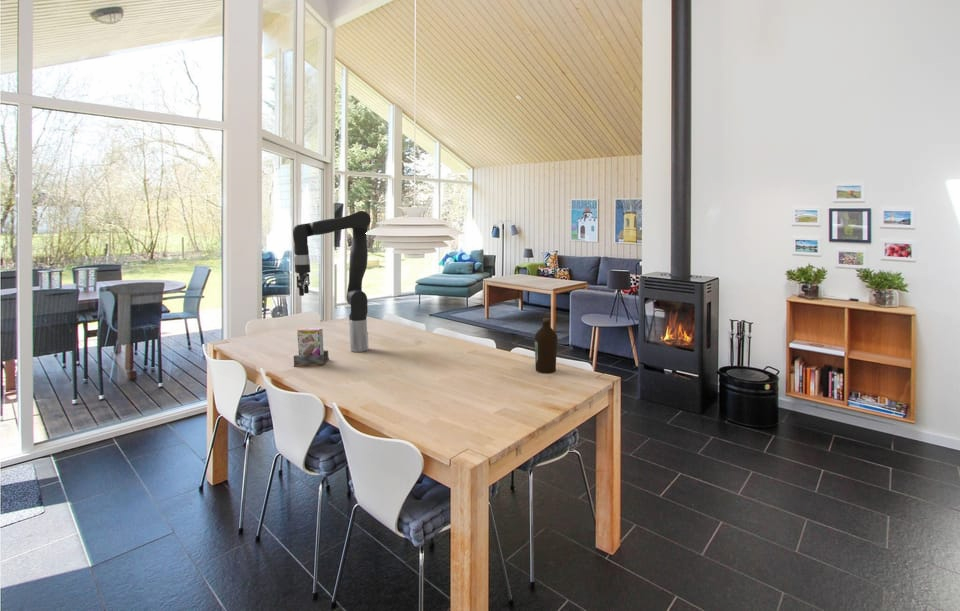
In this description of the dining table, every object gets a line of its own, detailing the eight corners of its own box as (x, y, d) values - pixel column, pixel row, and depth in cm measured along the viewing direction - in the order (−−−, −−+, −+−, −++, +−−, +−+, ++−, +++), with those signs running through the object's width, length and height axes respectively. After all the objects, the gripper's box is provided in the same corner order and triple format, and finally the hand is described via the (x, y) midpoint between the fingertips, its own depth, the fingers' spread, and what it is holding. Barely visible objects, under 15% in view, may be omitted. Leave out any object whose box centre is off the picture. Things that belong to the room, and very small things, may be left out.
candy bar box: (298, 362, 247) (296, 330, 244) (303, 359, 252) (300, 327, 249) (320, 362, 246) (318, 330, 244) (324, 360, 251) (322, 328, 249)
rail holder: (329, 359, 256) (328, 350, 255) (322, 366, 244) (322, 356, 243) (301, 360, 255) (300, 350, 254) (293, 366, 243) (293, 356, 243)
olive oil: (556, 367, 240) (557, 316, 236) (557, 374, 229) (558, 320, 225) (534, 366, 241) (535, 316, 237) (533, 373, 231) (534, 320, 227)
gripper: (305, 264, 252) (307, 296, 255) (313, 262, 266) (315, 292, 269) (290, 264, 252) (292, 296, 254) (298, 262, 266) (300, 292, 268)
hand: (304, 294), depth 262 cm, fingers open, 8 cm apart
